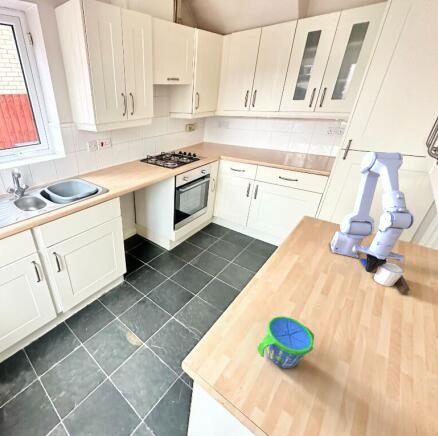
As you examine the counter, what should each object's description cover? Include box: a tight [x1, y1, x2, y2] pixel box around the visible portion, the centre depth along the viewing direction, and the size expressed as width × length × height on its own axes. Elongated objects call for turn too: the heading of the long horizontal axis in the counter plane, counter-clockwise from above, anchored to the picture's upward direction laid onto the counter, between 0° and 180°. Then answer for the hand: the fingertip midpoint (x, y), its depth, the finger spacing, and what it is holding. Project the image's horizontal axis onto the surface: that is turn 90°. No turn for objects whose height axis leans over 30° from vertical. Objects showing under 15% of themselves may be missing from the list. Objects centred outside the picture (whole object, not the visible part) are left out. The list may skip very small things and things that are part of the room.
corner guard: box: [371, 267, 411, 296], centre depth 92 cm, size 8×11×3 cm
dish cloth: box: [359, 257, 367, 269], centre depth 100 cm, size 8×7×1 cm
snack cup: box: [256, 315, 315, 369], centre depth 66 cm, size 16×10×10 cm
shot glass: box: [373, 261, 406, 287], centre depth 91 cm, size 7×7×7 cm
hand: (368, 270), depth 94 cm, fingers closed
